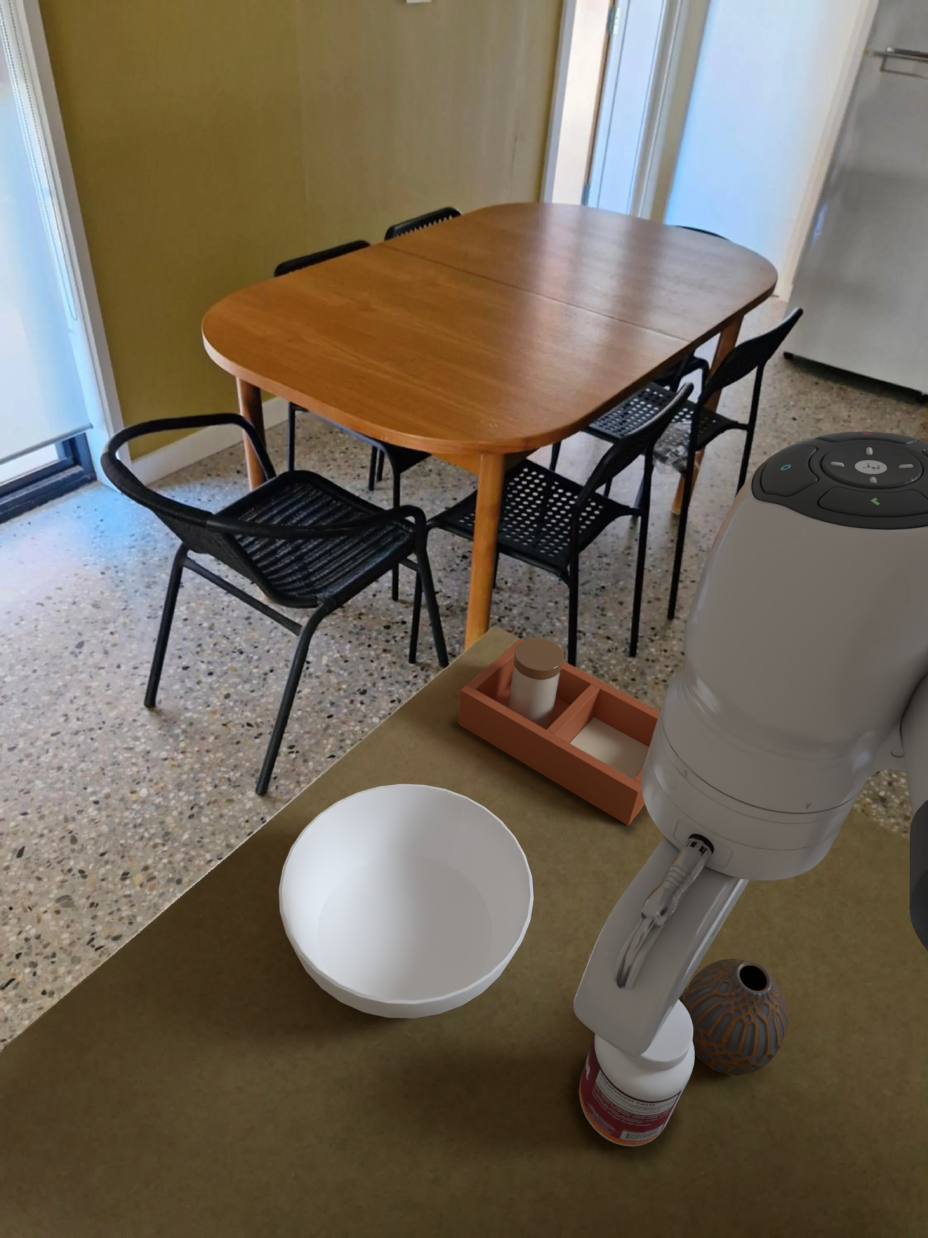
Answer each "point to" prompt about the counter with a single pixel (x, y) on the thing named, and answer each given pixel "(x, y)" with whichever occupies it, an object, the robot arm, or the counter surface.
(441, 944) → the bowl
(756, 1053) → the vase
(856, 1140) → the counter surface
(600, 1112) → the pill bottle
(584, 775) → the divided tray
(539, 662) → the spice jar
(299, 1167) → the counter surface
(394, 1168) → the counter surface
